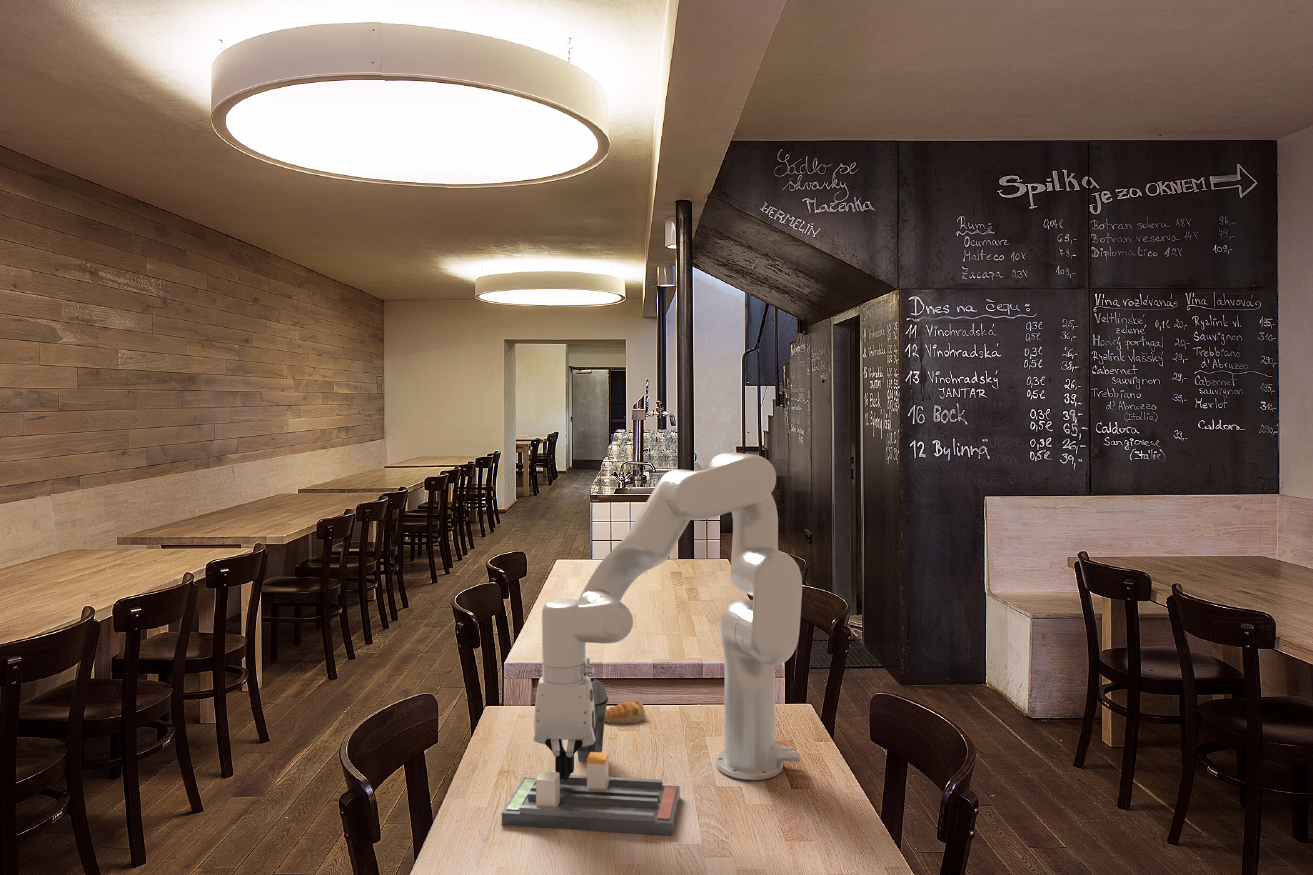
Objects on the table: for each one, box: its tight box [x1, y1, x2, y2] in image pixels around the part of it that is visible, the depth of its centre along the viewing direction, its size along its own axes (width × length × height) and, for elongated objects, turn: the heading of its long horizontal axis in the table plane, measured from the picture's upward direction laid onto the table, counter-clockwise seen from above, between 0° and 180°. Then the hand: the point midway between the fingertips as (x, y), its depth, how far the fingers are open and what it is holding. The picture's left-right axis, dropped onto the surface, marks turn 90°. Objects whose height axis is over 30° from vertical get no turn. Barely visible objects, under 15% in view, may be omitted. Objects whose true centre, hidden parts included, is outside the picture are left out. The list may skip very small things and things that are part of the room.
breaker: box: [536, 771, 560, 807], centre depth 134 cm, size 3×3×5 cm
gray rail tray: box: [501, 774, 681, 836], centre depth 136 cm, size 28×13×3 cm, turn 83°
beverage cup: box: [576, 657, 609, 764], centre depth 157 cm, size 7×7×20 cm
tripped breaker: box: [586, 751, 610, 790], centre depth 140 cm, size 3×3×6 cm
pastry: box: [604, 699, 647, 725], centre depth 178 cm, size 9×7×4 cm
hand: (564, 776), depth 141 cm, fingers closed
